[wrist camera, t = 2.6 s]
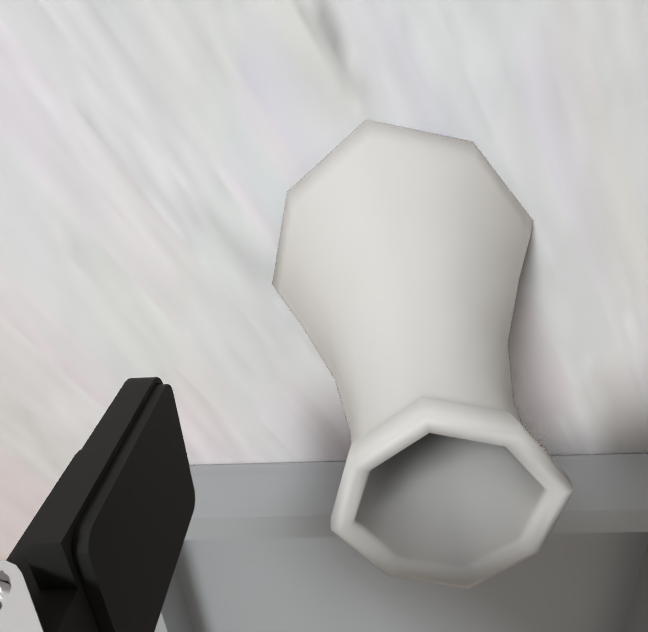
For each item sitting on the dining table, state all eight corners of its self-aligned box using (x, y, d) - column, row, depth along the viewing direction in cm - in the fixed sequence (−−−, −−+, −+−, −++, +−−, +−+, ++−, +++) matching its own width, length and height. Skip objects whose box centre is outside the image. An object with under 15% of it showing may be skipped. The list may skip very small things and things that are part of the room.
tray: (128, 466, 21) (102, 519, 19) (690, 452, 20) (733, 507, 17) (195, 686, 28) (181, 744, 25) (621, 686, 26) (646, 748, 24)
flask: (577, 206, 16) (860, 445, 7) (429, 389, 19) (498, 715, 10) (354, 66, 14) (359, 146, 6) (234, 289, 18) (114, 567, 9)
